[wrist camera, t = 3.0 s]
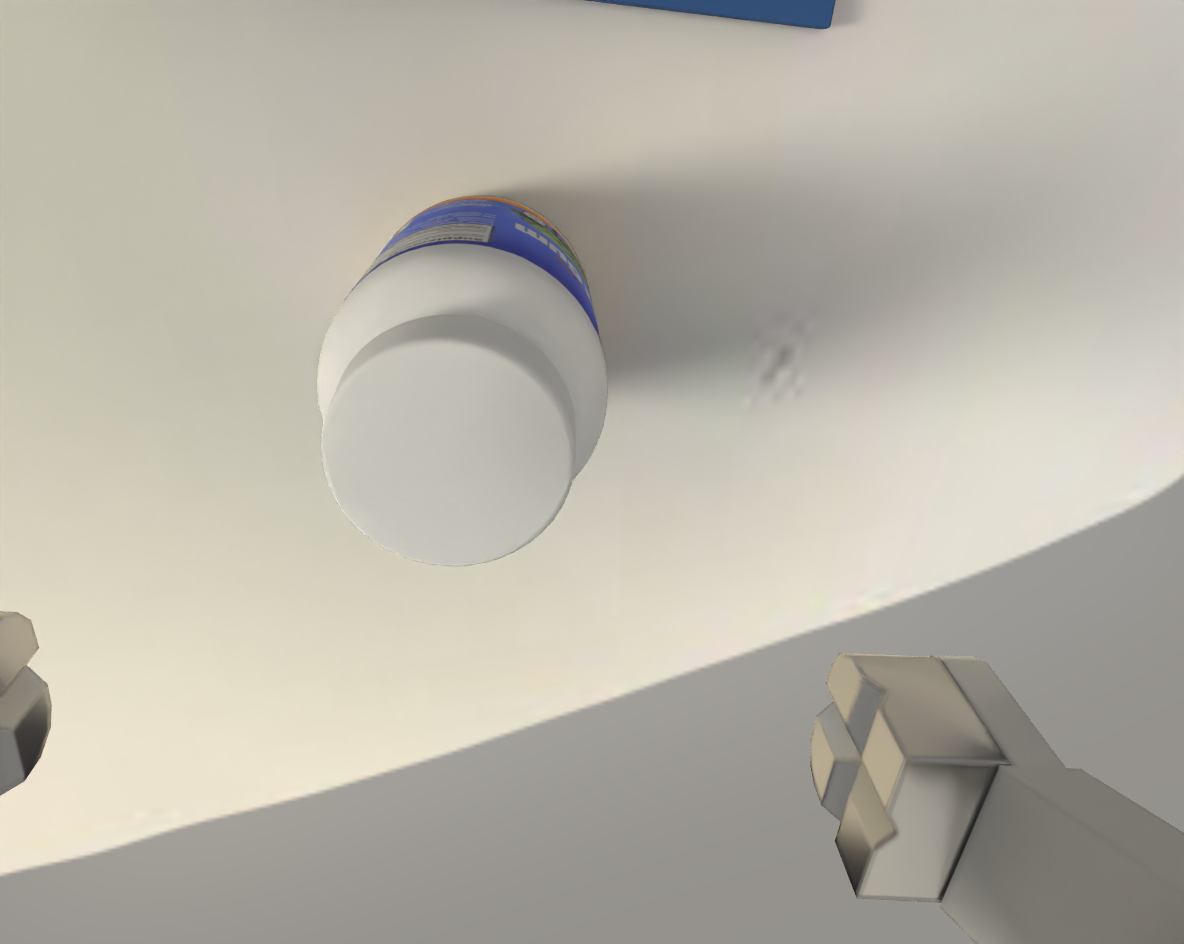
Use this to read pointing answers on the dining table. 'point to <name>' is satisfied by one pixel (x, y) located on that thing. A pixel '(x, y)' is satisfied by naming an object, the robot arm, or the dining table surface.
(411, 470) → the pill bottle
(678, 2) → the blue pad
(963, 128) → the dining table surface
